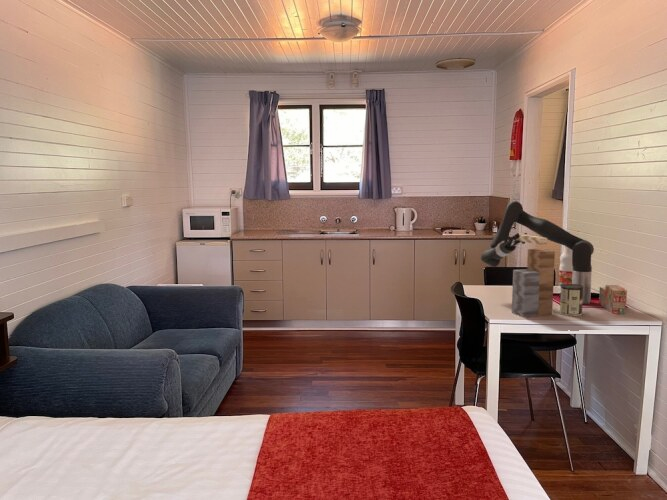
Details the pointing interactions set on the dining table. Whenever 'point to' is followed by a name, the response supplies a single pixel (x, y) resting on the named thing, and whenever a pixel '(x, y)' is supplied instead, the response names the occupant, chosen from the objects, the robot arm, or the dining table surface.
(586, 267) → the robot arm
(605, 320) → the dining table surface
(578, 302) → the coffee can
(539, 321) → the dining table surface
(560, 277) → the fruit juice
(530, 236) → the birch bar
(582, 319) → the dining table surface
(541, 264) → the stepped stand
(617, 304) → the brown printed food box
